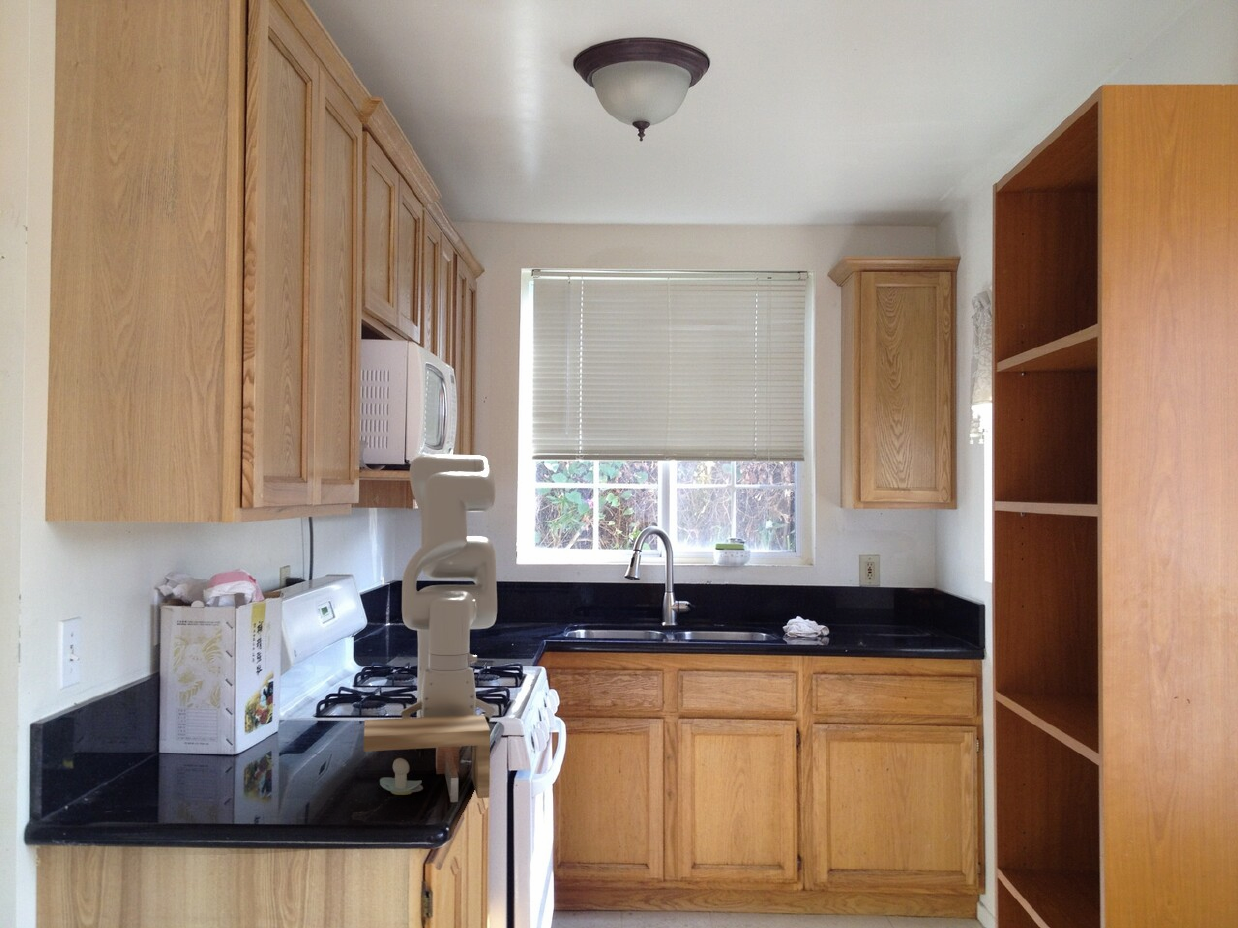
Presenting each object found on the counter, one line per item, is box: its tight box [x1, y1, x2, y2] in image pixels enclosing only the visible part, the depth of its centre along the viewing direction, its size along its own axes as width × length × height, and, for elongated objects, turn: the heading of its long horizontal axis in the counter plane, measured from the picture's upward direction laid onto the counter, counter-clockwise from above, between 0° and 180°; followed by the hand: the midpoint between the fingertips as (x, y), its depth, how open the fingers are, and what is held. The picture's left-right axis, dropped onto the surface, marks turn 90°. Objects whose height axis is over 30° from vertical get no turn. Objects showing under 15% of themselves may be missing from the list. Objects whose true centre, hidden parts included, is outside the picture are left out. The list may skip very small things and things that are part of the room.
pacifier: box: [379, 757, 424, 796], centre depth 166 cm, size 7×6×6 cm
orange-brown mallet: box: [435, 746, 460, 803], centre depth 170 cm, size 20×4×9 cm, turn 14°
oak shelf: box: [363, 714, 491, 799], centre depth 166 cm, size 11×21×12 cm, turn 104°
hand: (447, 754), depth 178 cm, fingers open, 9 cm apart
